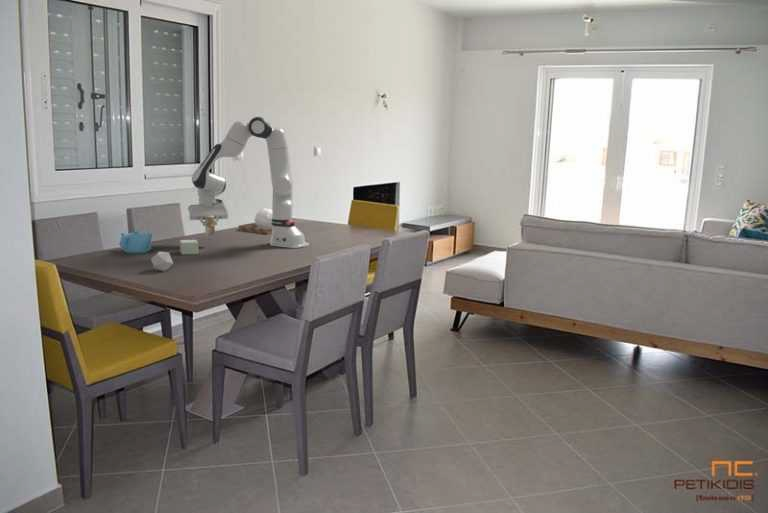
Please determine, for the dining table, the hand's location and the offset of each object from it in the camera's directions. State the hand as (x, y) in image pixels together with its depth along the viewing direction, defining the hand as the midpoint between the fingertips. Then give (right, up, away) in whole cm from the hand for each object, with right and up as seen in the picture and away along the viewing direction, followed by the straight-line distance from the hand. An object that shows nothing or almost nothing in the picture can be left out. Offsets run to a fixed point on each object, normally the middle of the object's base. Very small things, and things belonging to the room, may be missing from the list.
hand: (209, 224), depth 346 cm
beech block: (0, -5, +2) cm, 5 cm away
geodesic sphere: (+19, 0, +61) cm, 64 cm away
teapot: (-32, -14, -17) cm, 39 cm away
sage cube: (-6, -15, -16) cm, 23 cm away
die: (-7, -23, -55) cm, 60 cm away
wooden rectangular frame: (+19, 0, +61) cm, 64 cm away
